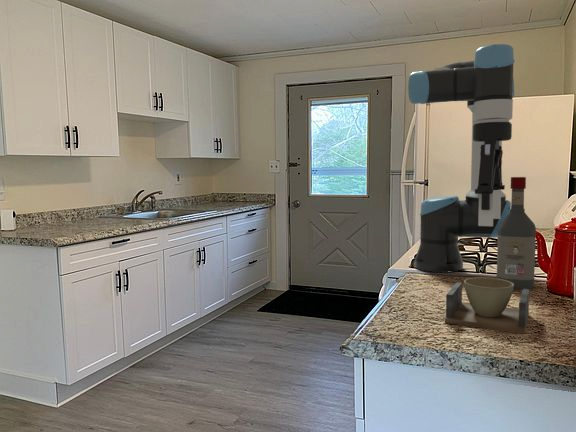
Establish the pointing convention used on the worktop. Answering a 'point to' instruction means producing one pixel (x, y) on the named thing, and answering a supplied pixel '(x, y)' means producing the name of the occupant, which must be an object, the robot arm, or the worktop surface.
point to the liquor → (517, 242)
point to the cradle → (466, 316)
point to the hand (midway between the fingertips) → (489, 222)
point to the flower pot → (488, 295)
